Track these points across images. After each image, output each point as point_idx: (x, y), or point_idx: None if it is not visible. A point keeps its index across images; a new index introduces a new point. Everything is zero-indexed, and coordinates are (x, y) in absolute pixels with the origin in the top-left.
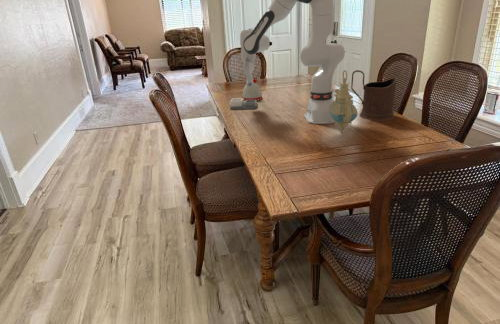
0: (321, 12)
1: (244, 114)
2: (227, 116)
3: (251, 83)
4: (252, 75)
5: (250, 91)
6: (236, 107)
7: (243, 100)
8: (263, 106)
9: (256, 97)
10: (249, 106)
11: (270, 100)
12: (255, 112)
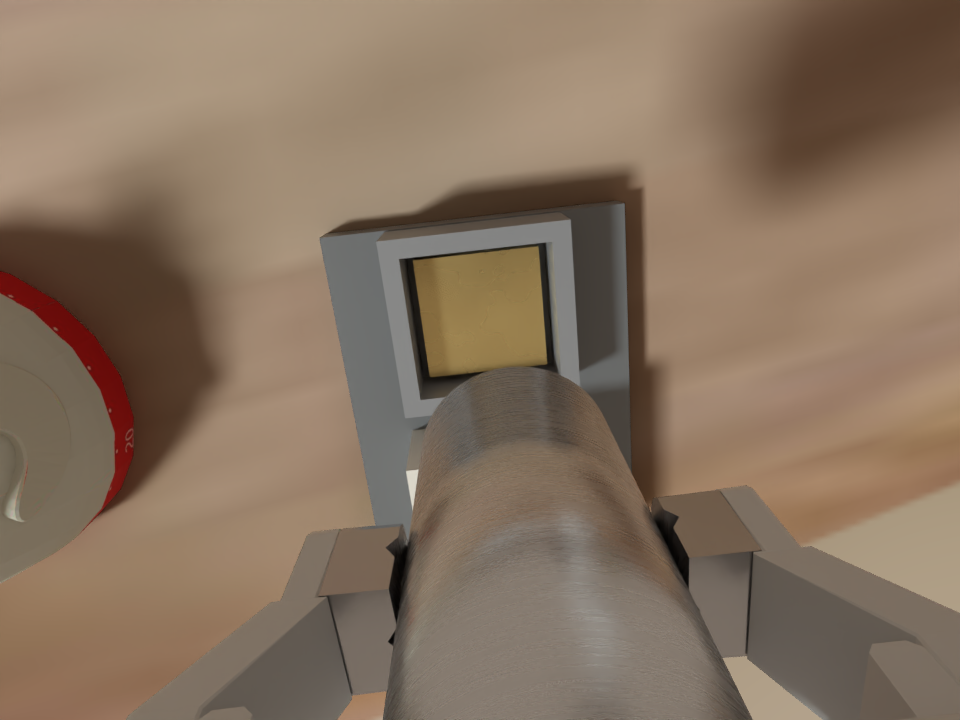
0: None
1: (885, 282)
2: (945, 465)
3: (593, 417)
4: (529, 563)
5: (6, 466)
6: (631, 467)
7: (416, 452)
8: (445, 94)
9: (39, 325)
10: (577, 301)
11: (17, 53)
12: (798, 144)
